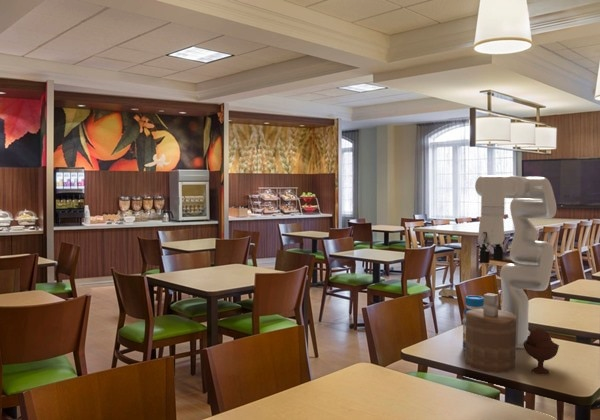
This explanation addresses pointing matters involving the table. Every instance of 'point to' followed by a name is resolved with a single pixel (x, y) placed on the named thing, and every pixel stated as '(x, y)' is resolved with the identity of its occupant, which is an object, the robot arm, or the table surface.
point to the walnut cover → (490, 337)
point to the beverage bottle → (471, 303)
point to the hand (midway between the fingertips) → (491, 261)
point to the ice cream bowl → (540, 348)
